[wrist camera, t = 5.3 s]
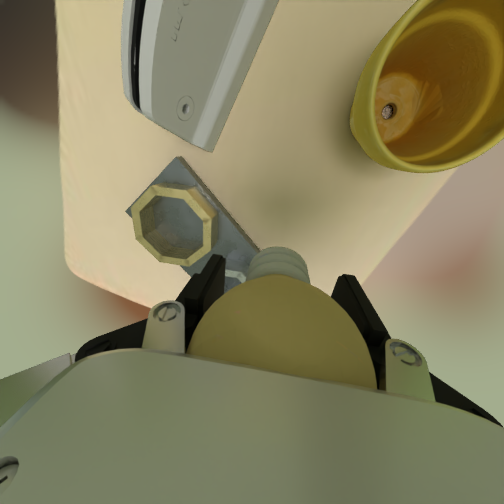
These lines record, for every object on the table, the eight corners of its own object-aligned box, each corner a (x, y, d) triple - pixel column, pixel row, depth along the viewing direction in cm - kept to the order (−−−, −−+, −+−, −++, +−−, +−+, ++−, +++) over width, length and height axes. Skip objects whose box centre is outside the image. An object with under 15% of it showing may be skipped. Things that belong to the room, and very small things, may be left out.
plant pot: (468, 77, 19) (623, 15, 11) (391, 181, 24) (455, 197, 15) (374, 22, 18) (460, -94, 10) (313, 141, 23) (334, 133, 14)
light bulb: (266, 317, 16) (247, 534, 7) (212, 255, 14) (89, 445, 5) (345, 280, 13) (473, 536, 4) (293, 201, 12) (334, 370, 3)
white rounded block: (211, 155, 25) (138, 133, 16) (184, 135, 26) (101, 104, 17) (290, -26, 18) (237, -244, 9) (249, -45, 19) (163, -262, 10)
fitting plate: (181, 156, 26) (163, 157, 22) (282, 278, 32) (283, 296, 28) (132, 208, 29) (109, 217, 25) (230, 308, 36) (224, 327, 32)
